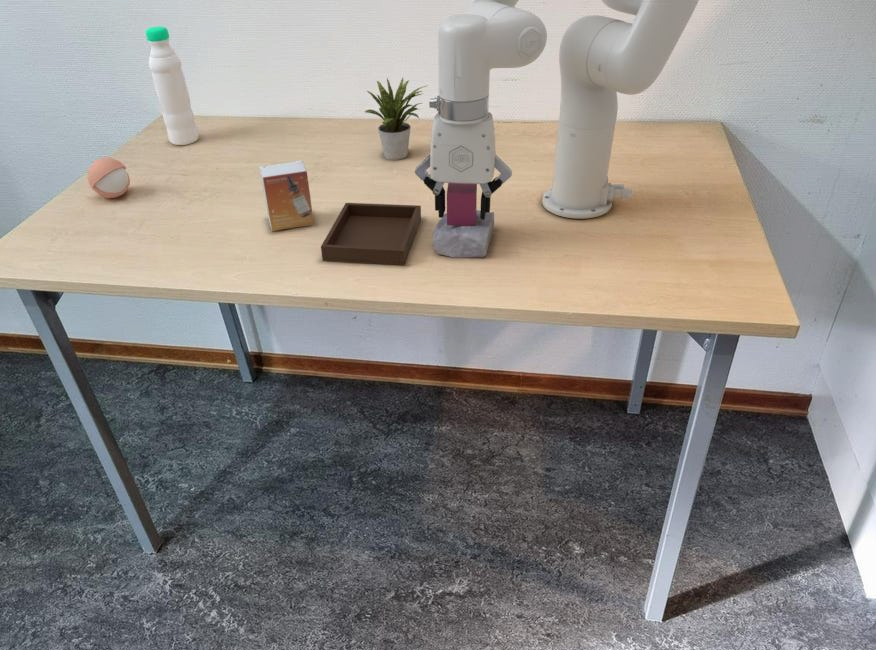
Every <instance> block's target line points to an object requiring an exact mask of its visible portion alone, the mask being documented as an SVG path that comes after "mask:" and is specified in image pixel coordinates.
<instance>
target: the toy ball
mask: <svg viewBox="0 0 876 650" xmlns="http://www.w3.org/2000/svg"><path fill="white" fill-rule="evenodd" d="M126 169H127V167H126V165H125V164H124V163H122V162H121V161H120V160H118V159H115V158H113V157H100V158H97V159H96V160H94V161H93V162H92V163H91V164H90V166H89V167H88V170H87V181H88V184H89V186H90V188H91V189H92V190H93V191H94V192H95V193H96V194H97V195H99V196H101V197H103V198H106V199H107V198H108V199H115V198H118V197H121V196H122V195H124V194H125V193H126V192H127V191H128V190H129V187H130V184H131V178H130V176H129V174H128V172H127V170H126Z"/></svg>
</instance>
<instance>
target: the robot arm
mask: <svg viewBox="0 0 876 650" xmlns="http://www.w3.org/2000/svg"><path fill="white" fill-rule="evenodd" d="M518 2H519V0H470V2H469V4H468V6H467V9H466V11H465V13H464V14H463V13H461V14H455V15H454V14H453V15H450V16H447V17H445V18H444V19H443V20H441V22H440V23H439V25H438V29H437V51H438V52H437V59H438V61H437V62H438V63H437V64H438V68H437V69H438V71H437V72H438V95H437V97H434V98H429V101H428V103H429V104H428V106H429V108H430V109H434V110H436V111H437V113H436V114H435V115H434V117H433V121H432V128H431V133H430V134H431V136H430V150H429V151H430V153H429V155H428V156H427V157H426V158H425V159H424V160H422V162H420V164H418V165H417V166H416V167H415V168H414V174H415V176H417V177H418V178H419V179H420V180H421V181H422V182H423V184H424V185H425V186H426V187H427V188H428V189H429V190H430V191H431V192H432V194H433V195H434V210H435V211H437V212H438V218H440V219H442V217H443V216H444V214H445V213H446V189H445V188H444V185H445V184H448V183H463V184H477V185H479V186H480V188H481V196H480V210H481V211H480V219H482V220H485V215H486V213H490V211H491V198H492V194H494V193H495V192H496V191H497V190H498V189H499V188H501V187H502V185H503V184H504V183H506V182H507V181H509V179H510V178H511V177H512V175H513V170H512V169H511V168H510V167H509V166H508V165H507V164H506V163H505V162H504V161H503V160H502V159H501V158H500V157H499V156H498V155H497V154H496V133H495V122H494V117H493V114H492V112H489V104H490V78H491V76H490V75H491V70H492V69H517V68H523V67H526V66H528V65H530V64H532V63H533V62H535V61H536V60H537V59H538V58H539V57H540V56H541V55H542V54H543V53H544V50H545V47H546V45H547V40H548V33H547V28H546V26H545V24H544V22H543V20H542V19H541V18H540V17H539V16H538V15H537V14H535V13H533V12H531V11H528V10H525V9H522V8H518V7H515V6H516V5H517V3H518ZM601 2H602V3H603V4H604V5H605V6H606V7H607V8H609V9H612V10H614V11H617V12H620V13H623V14H627V15H631V16H635V18H634V20H633V21H632V23H631V22H628V21H625V20H622V19H617V18H613V17H612V18H611V17H608V16H604V15H597V14H595V15H586V16H582V17H580V18H578V19H576V20H575V21H573V22H572V23H570V25H569V26H568V27H567V29H566V30H565V32H564V33H563V35H562V37H561V41H560V45H559V52H558V63H559V75H560V105H559V115H558V116H559V117H558V124H557V125H558V126H557V135H556V145H555V153H554V165H553V175H552V185H551V188H550V189H548V190H546V191H545V192H544V193H543V195H542V200H541V202H542V206H543V208H544V209H545V210H547V211H548V212H550V213H551V214H553V215H556V216H559V217H563V218H567V219H576V220H579V219H581V220H583V219H584V220H585V219H593V218H598V217H600V216H604V215H606V213H608V212H609V211H610V210H611V209H612V205H613V201H614V200H624V201H632V198H633V189H632V188H625V185H624V184H621V183H619V184H618V183H616V184H612V182H609V177H608V174H609V167H610V162H611V155H612V150H613V149H612V148H613V141H614V135H615V129H616V122H617V117H618V109H619V107H618V106H619V105H618V104H619V103H618V100H619V99H618V94H617V93H619V94H623V95H628V96H633V95H638V94H641V93H643V92H645V91H646V90H648V89H649V88H650V87H651V86H652V85H653V84H654V83H655V82H656V80H657V79H658V78H659V76H660V75H661V73H662V71H663V69H664V68H665V66H666V64H667V63H668V60H669V58H670V57H671V55H672V53H673V51H674V49H675V47H676V45H677V44H678V42H679V40H680V39H681V36H682V34H683V33H684V30H685V29H686V27H687V25H688V24H689V21H690V19H691V17H692V16H693V14H694V11H695V9H696V8H697V5H698V2H699V0H601ZM428 169H429V172H428ZM495 169H496V171H498V172H499V175H498V176H496V177H494V176H495Z"/></svg>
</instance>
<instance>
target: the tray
mask: <svg viewBox="0 0 876 650" xmlns="http://www.w3.org/2000/svg"><path fill="white" fill-rule="evenodd" d="M421 206H422V205H418V204H417V205H415V204H412V205H411V204H389V203H388V204H387V203H386V204H385V203H363V202H362V203H361V202H345V203H344V205H343V206H342V208H341V210H340V212H339V213H338V215H337V217H336V219H335V220H334V223H333V224H332V226H331V227H330V230H329V231H328V233H327V234H326V237H325V239H324V240H323V242H322V244H321V245H320V251H321V258H322V262H332V263H333V262H334V263H349V264H352V263H353V264H367V265H370V264H371V265H387V266H402V267H403V266H406V263H407V259H408V257H409V254H410V252H411V249H412V246H413V243H414V241H415V237H416V235H417V232H418V229H419V227H420V223H421V221H422V207H421Z"/></svg>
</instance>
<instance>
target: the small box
mask: <svg viewBox="0 0 876 650" xmlns="http://www.w3.org/2000/svg"><path fill="white" fill-rule="evenodd" d="M258 169H259V174H260V180H261V186H262V192H263V197H264V203H265V209H266V214H267V220H268V222H269V227H270V230H271V232H276V231H279V230H286V229H295V228H300V227H310V226H314V224H315V222H314V212H313V207H312V206H313V205H312V199H311V191H310V185H309V178H308V171H307V169H306V166H305V164H304V162H303V160H302V159H300V160H295V161H290V162H284V163H283V162H282V163H275V164H270V165H260V166H259V167H258Z"/></svg>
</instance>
